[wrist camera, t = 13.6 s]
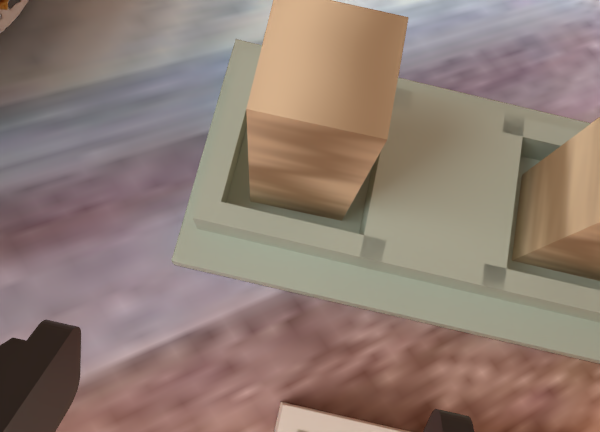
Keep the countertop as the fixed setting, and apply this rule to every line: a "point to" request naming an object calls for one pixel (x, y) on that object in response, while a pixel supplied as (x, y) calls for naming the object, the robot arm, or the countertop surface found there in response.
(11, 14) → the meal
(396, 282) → the green slotted tray
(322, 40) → the block
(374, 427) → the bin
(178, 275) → the countertop surface
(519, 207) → the block
